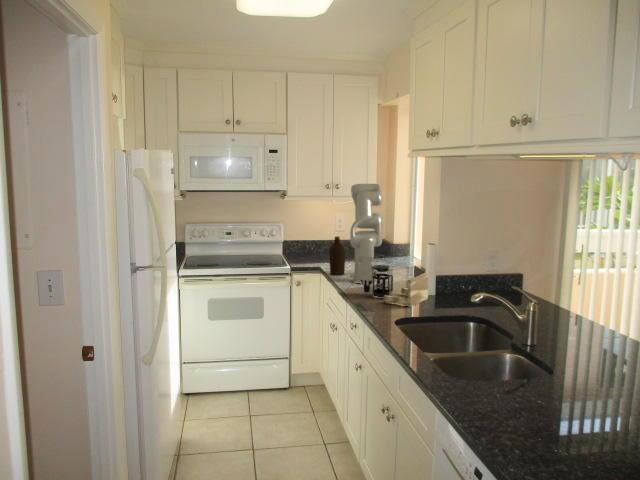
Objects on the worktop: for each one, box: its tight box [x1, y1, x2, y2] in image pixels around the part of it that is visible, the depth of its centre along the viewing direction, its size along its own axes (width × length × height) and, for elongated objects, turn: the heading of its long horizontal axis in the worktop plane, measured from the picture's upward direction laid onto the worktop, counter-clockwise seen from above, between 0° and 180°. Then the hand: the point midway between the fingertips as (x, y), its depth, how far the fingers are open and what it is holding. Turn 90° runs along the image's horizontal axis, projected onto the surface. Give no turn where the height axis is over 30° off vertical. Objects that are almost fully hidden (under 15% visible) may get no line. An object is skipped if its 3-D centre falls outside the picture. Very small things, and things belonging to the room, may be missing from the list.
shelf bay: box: [383, 272, 429, 306], centre depth 255 cm, size 15×21×14 cm
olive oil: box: [328, 236, 346, 276], centre depth 321 cm, size 11×11×25 cm
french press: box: [372, 254, 394, 297], centre depth 263 cm, size 12×9×23 cm
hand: (366, 291), depth 270 cm, fingers closed
